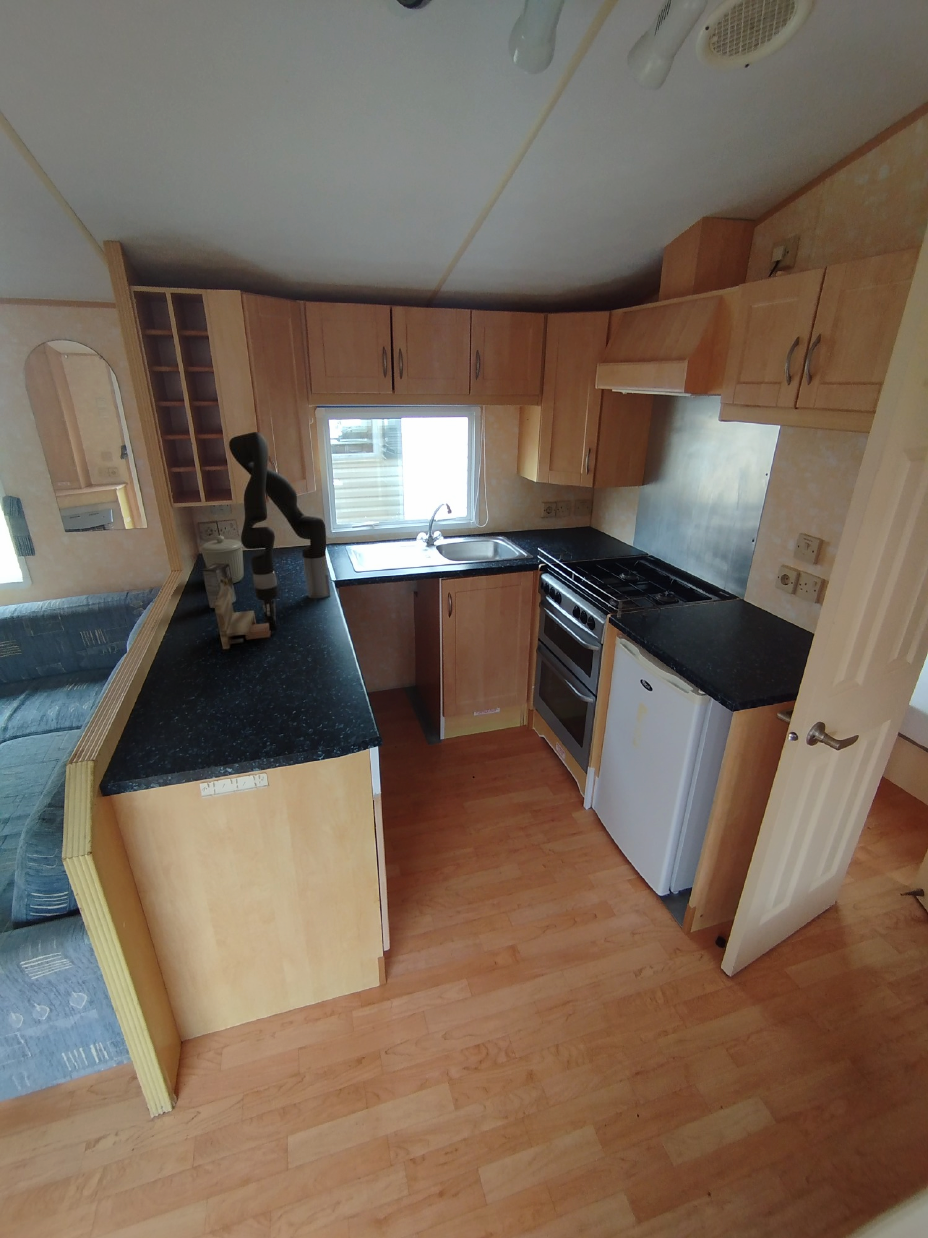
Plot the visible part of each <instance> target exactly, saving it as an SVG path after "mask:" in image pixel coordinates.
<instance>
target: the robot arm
mask: <svg viewBox="0 0 928 1238" xmlns="http://www.w3.org/2000/svg"><path fill="white" fill-rule="evenodd" d="M267 443H268V442H267V441H266V438H265V437H264V436H263V434H262V433H260V432H258V431H253V432H249V433H243V434H241V435H236V436H234V437H232V438H230V440H229V442H228V447H229V451H230V453H231V455H232V457H233V458H234V459H235V461H236V462H237V464H239V465H240V466H241V467H242V468H243V469H244V470H245V471H246V472H247V473H248V474H249V475H250V477H249V480H248V482H247V485H246V486H245V489H244V493H243V505H244V506H243V507H244V520H243V521H244V522H243V526H242V530H241V535H240V542H242V544H243V546H242V547H244V548H245V549H246V550H247V549H248V550H256V549H265V550H264V551H263V552H262V553H261V552H260V553H258V554H255V555H253V556H251V557H250V563H251V569H252V576H253V577H252V579H253V585H254V591H255V597H256V599H257V600H259V601H263V602H262V609H263V612H264V616H265V620H266V623H269V628H270V631H271V632H275V631H277V622H276V612H277V610H276V609H277V608H276V599H277V598H278V597H279V596H280V593H279V587H278V586H279V585H278V581H277V575H276V572H275V567H274V560H273V559H274V557H273V556H274V547H275V546H274V545H275V541H276V540H275V539H276V537H275V532H274V530H273V529H272V528H271V527H270V526H256V527H254V526H255V525H256V524H258V523H261V522H265V521H266V520H267V519H268V512H267V511H268V509H267V497H268V498H269V500H271V502H272V503H273V504H274V505H275V506H276V508H277V509H278V510H279V511H280V512H281V514H282V515H283V516H284V518H285V519H286V521H287V522H288V524H289V525H290V527H291V529H292V530H293V531H294V533H295V535H297V537H299V538H301V539H302V540H303V539H304V540H309V543H310V545H309V546H307V547H304V548H303V549H302V551H301V553H302V554H301V555H302V562H303V569H304V574H305V584H306V590H307V591H306V592H307V597H308V598H310V599H324V598H327V597H331V587H330V579H329V571H328V562H327V555H326V554H327V553H326V552H327V551H326V550H327V531H326V525H325V524H326V523H325V521H324V520H323V519H322V518H321V517H318V516H310V515H309V516H308V515H306V514H304V513H303V512H302V511H301V510H300V508H299V507H298V495H297V492H296V489H294V487H293V485H292V484H291V483H290V481H289V480H288V479H287V478H286V477H285V476H284V475H282V474H280V473H279V472H277V471H275V470H274V469H271V468H269V467H268V461H269V447H268V444H267ZM266 495H267V496H266ZM274 599H275V600H274Z"/></svg>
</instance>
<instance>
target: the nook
mask: <svg viewBox="0 0 928 1238" xmlns="http://www.w3.org/2000/svg"><path fill="white" fill-rule="evenodd" d="M214 607H215V608H214V611H215V616H216V620H217V624H218V625H217V626H218V632H219V635H220V641H221V645H222V649H223V650H228V649H230V647H231V645H232V644H241V643H244V638H243V637H237V638H234V636H242V635H245V634H249V632H250V628H251V625H255V624H257V622H256V615H255V610H246V611H237V612H234V607H233V603H232V601H231V596H230V590H229V586H222V589H221V591H220V593H219V595H218V597H217V600H216V602H215V604H214Z"/></svg>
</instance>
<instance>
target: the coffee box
mask: <svg viewBox="0 0 928 1238" xmlns="http://www.w3.org/2000/svg"><path fill="white" fill-rule="evenodd" d="M201 572H202V575H203V576H202V577H203V581H204V585H205V586H204V587H205V590H206V594H207V599H208V604H209V608H212V609H215V607H214V604H215V602H216V600H217V597H218V595H219V593H220V591H221V589H222V586H229V590H230V596H231V601H232V604H233V603H234V602H236V601H237V597H236V592H235V586H234V583H233V581H232V576H231V571H230V566H229V564H222V563H215V564H213V565H211V566H209V567H207V566H206V567H205V568H203V569H202V570H201Z"/></svg>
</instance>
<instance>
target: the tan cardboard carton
mask: <svg viewBox="0 0 928 1238" xmlns="http://www.w3.org/2000/svg"><path fill="white" fill-rule="evenodd" d="M271 634H272V631H270V628H269V623H268V622H266V623H256V624H255V625H251V628H250V632H249V634H244V635H245V640H254V639H264V638H270V637H271Z"/></svg>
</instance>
